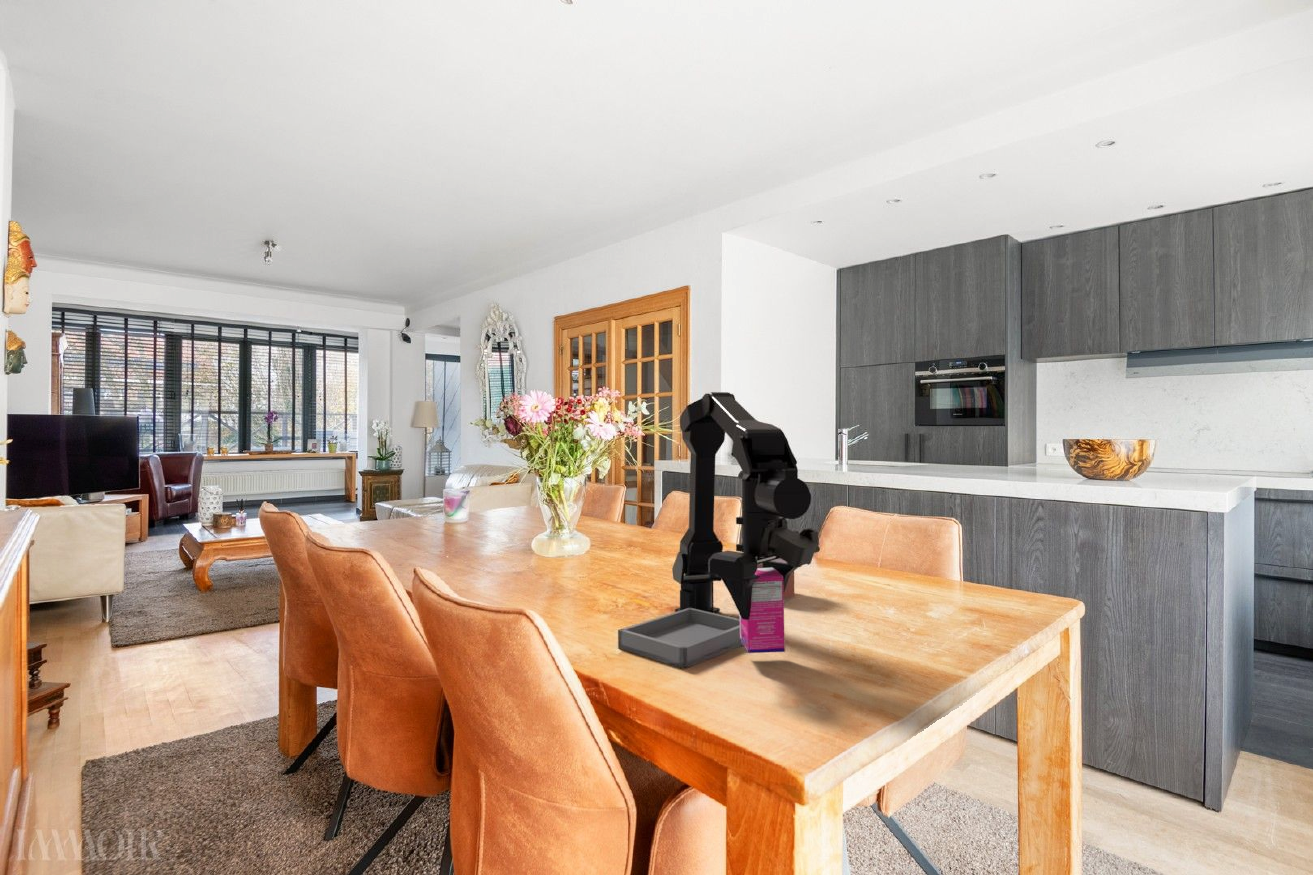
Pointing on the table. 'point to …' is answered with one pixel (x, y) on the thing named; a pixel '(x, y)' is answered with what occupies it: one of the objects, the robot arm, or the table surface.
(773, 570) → the supplement box
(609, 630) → the table surface
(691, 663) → the tray
